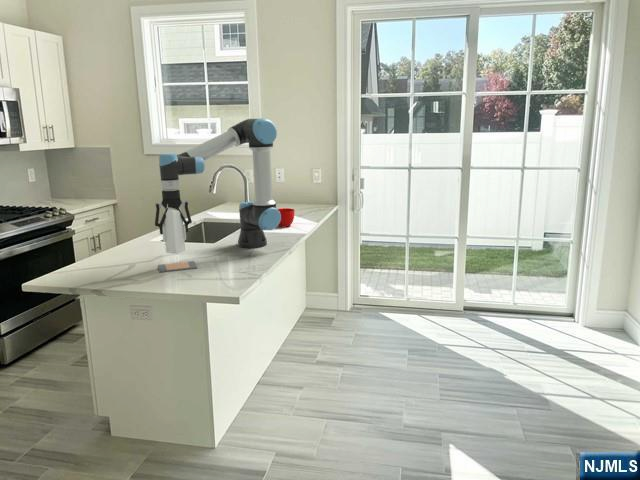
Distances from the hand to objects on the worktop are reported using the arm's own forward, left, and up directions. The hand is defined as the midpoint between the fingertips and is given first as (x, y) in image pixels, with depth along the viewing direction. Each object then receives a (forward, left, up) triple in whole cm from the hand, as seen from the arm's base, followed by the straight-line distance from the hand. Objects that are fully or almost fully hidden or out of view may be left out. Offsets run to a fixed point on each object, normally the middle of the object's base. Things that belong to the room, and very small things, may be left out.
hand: (174, 240), depth 225 cm
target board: (0, 0, -13) cm, 13 cm away
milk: (0, 0, -6) cm, 6 cm away
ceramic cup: (-71, -67, -13) cm, 99 cm away
